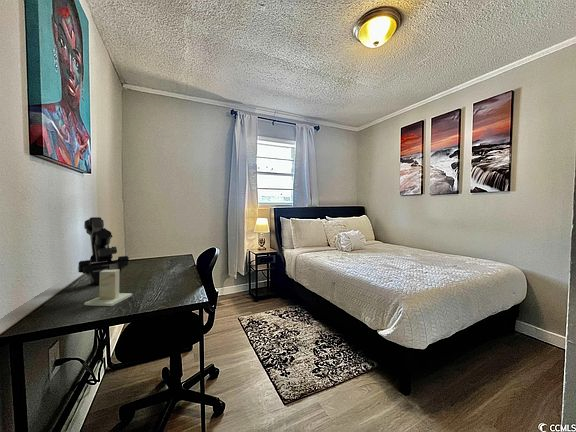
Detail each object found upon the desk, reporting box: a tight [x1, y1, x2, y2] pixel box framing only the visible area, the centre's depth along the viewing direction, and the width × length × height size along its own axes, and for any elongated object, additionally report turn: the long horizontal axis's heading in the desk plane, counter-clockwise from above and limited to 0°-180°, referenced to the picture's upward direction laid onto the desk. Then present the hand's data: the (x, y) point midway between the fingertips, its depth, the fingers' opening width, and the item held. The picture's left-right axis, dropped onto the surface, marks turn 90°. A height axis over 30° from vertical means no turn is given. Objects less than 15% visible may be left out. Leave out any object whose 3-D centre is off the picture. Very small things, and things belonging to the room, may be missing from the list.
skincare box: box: [98, 268, 120, 300], centre depth 105 cm, size 6×4×12 cm
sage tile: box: [83, 292, 133, 307], centre depth 105 cm, size 12×12×1 cm
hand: (107, 278), depth 109 cm, fingers open, 9 cm apart
